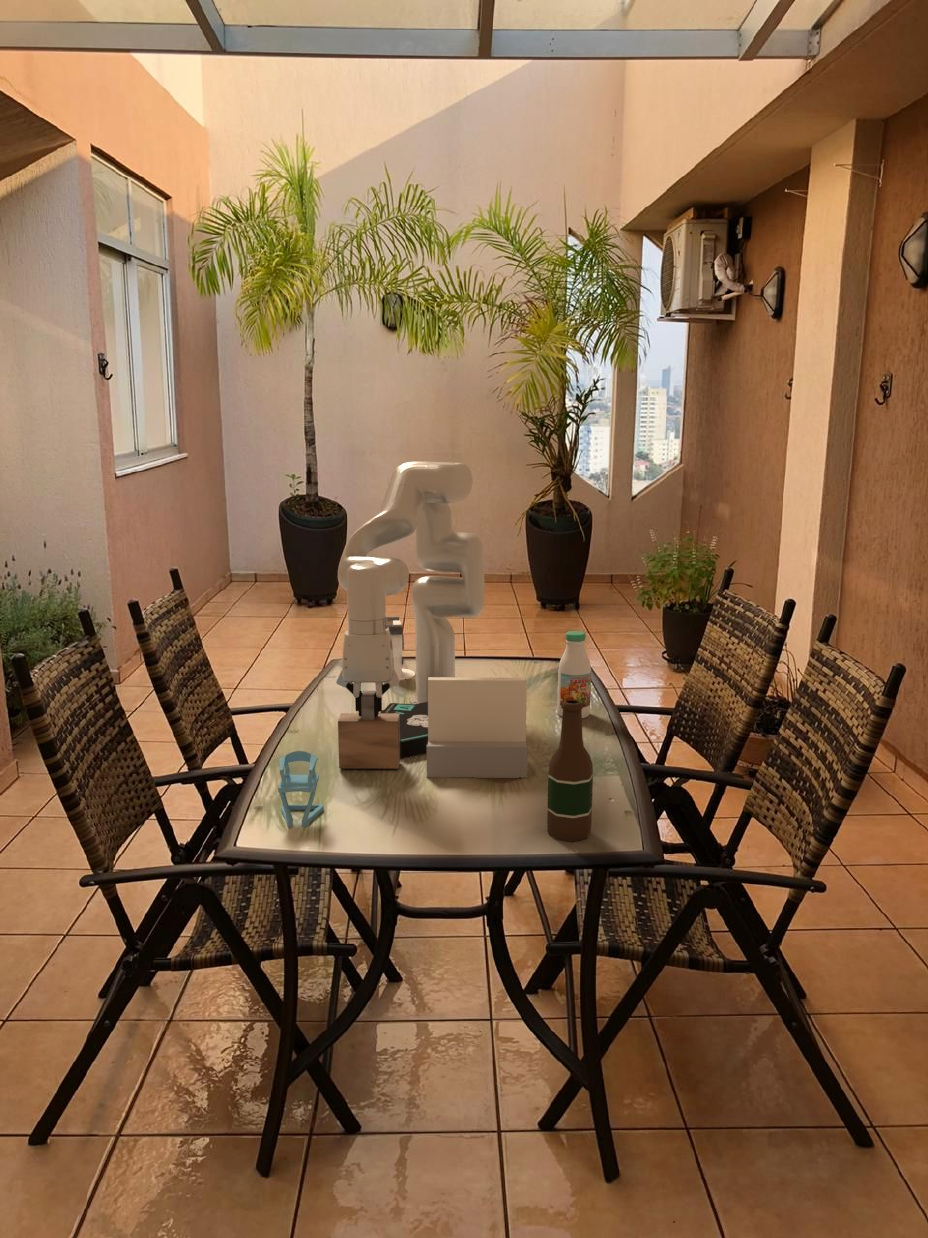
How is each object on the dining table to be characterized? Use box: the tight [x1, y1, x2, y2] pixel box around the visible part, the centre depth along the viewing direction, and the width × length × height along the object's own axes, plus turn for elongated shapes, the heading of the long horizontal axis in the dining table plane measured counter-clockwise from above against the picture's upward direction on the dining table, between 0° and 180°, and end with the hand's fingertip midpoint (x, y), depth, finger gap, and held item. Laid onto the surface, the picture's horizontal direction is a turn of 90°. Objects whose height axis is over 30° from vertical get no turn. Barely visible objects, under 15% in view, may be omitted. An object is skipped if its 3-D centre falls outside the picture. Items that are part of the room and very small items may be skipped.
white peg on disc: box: [386, 616, 416, 681], centre depth 284 cm, size 12×11×15 cm
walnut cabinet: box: [337, 690, 401, 769], centre depth 216 cm, size 5×12×15 cm, turn 90°
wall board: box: [426, 676, 529, 779], centre depth 214 cm, size 10×20×18 cm, turn 89°
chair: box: [277, 750, 324, 828], centre depth 190 cm, size 8×8×12 cm
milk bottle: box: [556, 630, 592, 719], centre depth 250 cm, size 8×8×20 cm
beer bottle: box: [546, 699, 594, 843], centre depth 183 cm, size 8×8×24 cm
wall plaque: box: [379, 702, 428, 760], centre depth 236 cm, size 30×4×30 cm
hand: (368, 713), depth 215 cm, fingers closed on walnut cabinet, 2 cm apart
